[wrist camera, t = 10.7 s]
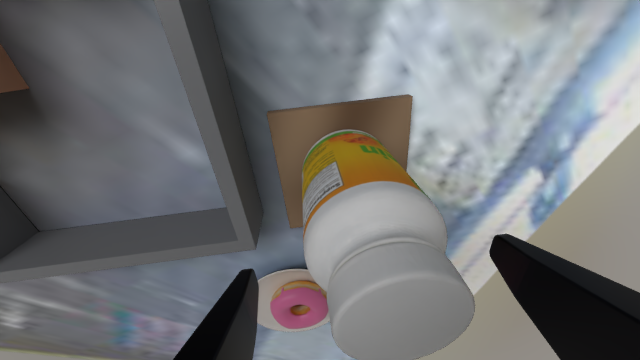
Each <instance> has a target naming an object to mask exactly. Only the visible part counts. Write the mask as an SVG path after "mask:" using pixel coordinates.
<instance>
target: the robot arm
mask: <svg viewBox="0 0 640 360" xmlns="http://www.w3.org/2000/svg"><path fill="white" fill-rule="evenodd" d="M489 253H490V257H491V259H492V260H493V262H494V264H495V265H496V267H497V269H498V270H499V272H500V273H501V275H502V277H503V278H504V280H505V282H506V284H507V285H508V287H509V289H510V290H511V292H512V293H513V295H514V297H515V298H516V299H517V301H518V302H519V304H520V305H521V306H522V308H523V309H524V310H525V312H526V313H527V315H528V316H529V317H530V319H531V320H532V321H533V323H534V324H535V325H536V327H537V328H538V330H539V331H540V332H541V334H542V335H543V336H544V338H545V339H546V340H547V342H548V343H549V345H550V346H551V347H552V349H553V350H554V352H555V353H556V354H557V356H558V357H559V358H560V360H640V293H639V292H637V291H634V290H632V289H630V288H628V287H626V286H623V285H621V284H619V283H617V282H614V281H612V280H610V279H608V278H606V277H603V276H601V275H599V274H597V273H594V272H592V271H590V270H588V269H585V268H583V267H581V266H579V265H576V264H574V263H572V262H569V261H567V260H565V259H563V258H561V257H559V256H556V255H554V254H552V253H550V252H547V251H545V250H543V249H540V248H538V247H536V246H534V245H531V244H529V243H527V242H525V241H523V240H520V239H518V238H516V237H514V236H511V235H509V234H501V235H496V236H495V237H494V238H493V241H492V244H491V248H490V251H489ZM258 298H259V284H258V281H257V278H256V275H255V272H254V270H253V269H244V270H241V271H240V272H239V274H238V275H237V276H236V278H235V279H234V280H233V282H232V283H231V284H230V286H229V287H228V288H227V289H226V291H225V292H224V293H223V295H222V296H221V297H220V299H219V300H218V301H217V303H216V304H215V305H214V306H213V308H212V309H211V310H210V312H209V313H208V314H207V316H206V317H205V318H204V320H203V321H202V322H201V324H200V325H199V326H198V327H197V329H196V330H195V331H194V333H193V334H192V335H191V337H190V338H189V339H188V341H187V342H186V343H185V344H184V346H183V347H182V348H181V350H180V351H179V352H178V354H177V355H176V356H175V358H174V359H173V360H252V359H253V353H254V347H255V340H256V333H257V316H258Z"/></svg>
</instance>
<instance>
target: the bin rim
mask: <svg viewBox="0 0 640 360" xmlns="http://www.w3.org/2000/svg"><path fill="white" fill-rule="evenodd" d="M154 2H155V5H156V8H157V11H158V13H159V16H160V19H161V22H162V25H163V28H164V31H165V33H166V36H167V39H168V42H169V45H170V48H171V51H172V53H173V56H174V59H175V62H176V65H177V68H178V70H179V73H180V76H181V79H182V82H183V85H184V88H185V90H186V93H187V96H188V99H189V102H190V105H191V107H192V110H193V113H194V116H195V119H196V122H197V125H198V127H199V130H200V133H201V136H202V139H203V142H204V144H205V147H206V150H207V153H208V156H209V159H210V162H211V164H212V167H213V170H214V173H215V176H216V179H217V181H218V184H219V187H220V190H221V193H222V196H223V199H224V201H225V204H226V207H227V208H220V209H212V210H204V211H196V212H189V213H181V214H173V215H165V216H158V217H150V218H142V219H134V220H127V221H119V222H111V223H103V224H96V225H88V226H80V227H72V228H65V229H57V230H49V231H41V232H39V231H38V230H37V229H36V228H35V227H34V226H33V224H32V223H31V222H30V221H29V220H28V219H27V217H26V216H25V215H24V214H23V213H22V212H21V211H20V209H19V208H18V207H17V206H16V205H15V204H14V202H13V201H12V200H11V199H10V198H9V197H8V195H7V194H6V193H5V192H4V191H3V190H2V189H1V187H0V283H7V282H15V281H22V280H30V279H37V278H45V277H52V276H60V275H67V274H75V273H82V272H90V271H97V270H105V269H112V268H120V267H127V266H135V265H142V264H150V263H157V262H165V261H172V260H180V259H187V258H195V257H202V256H209V255H217V254H224V253H232V252H239V251H247V250H254V249H256V247H257V242H258V237H259V232H260V227H261V222H262V217H263V209H262V205H261V201H260V197H259V194H258V190H257V186H256V182H255V179H254V175H253V171H252V167H251V163H250V160H249V156H248V152H247V148H246V144H245V141H244V137H243V133H242V129H241V126H240V122H239V118H238V114H237V110H236V107H235V103H234V99H233V95H232V91H231V88H230V84H229V80H228V76H227V73H226V69H225V65H224V61H223V57H222V54H221V50H220V46H219V42H218V38H217V35H216V31H215V27H214V23H213V20H212V16H211V12H210V8H209V4H208V1H207V0H154Z"/></svg>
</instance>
